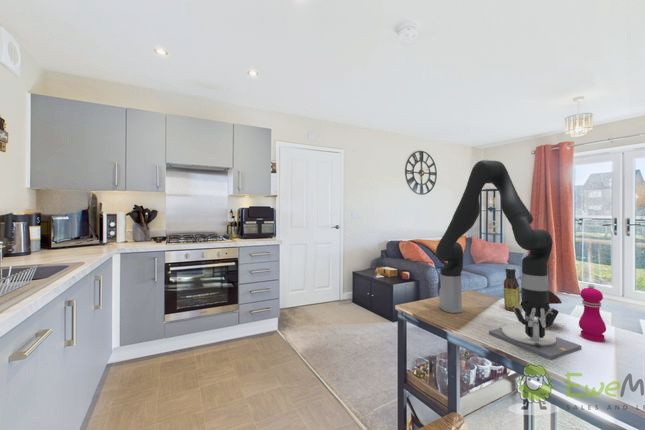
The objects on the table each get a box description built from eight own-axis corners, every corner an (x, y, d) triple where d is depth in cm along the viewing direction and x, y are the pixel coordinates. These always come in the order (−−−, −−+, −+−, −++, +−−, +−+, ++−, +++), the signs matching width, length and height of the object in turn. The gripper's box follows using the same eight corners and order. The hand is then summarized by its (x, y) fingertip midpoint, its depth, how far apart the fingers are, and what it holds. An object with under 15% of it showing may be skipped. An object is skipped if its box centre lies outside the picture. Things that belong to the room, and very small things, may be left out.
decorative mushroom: (550, 321, 118) (549, 286, 118) (569, 331, 107) (568, 293, 107) (522, 320, 120) (521, 285, 120) (538, 330, 109) (537, 292, 109)
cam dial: (496, 325, 112) (496, 307, 112) (544, 329, 107) (543, 310, 107) (511, 344, 95) (510, 324, 95) (568, 351, 90) (567, 329, 90)
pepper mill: (573, 334, 105) (572, 282, 105) (591, 333, 106) (589, 281, 106) (593, 343, 98) (592, 287, 98) (612, 341, 98) (611, 286, 98)
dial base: (489, 334, 107) (488, 330, 107) (517, 326, 113) (517, 323, 113) (550, 360, 87) (550, 355, 87) (581, 349, 94) (581, 345, 94)
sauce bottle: (522, 312, 129) (521, 269, 129) (507, 311, 130) (506, 269, 130) (515, 307, 135) (514, 267, 135) (501, 307, 137) (500, 267, 137)
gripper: (517, 289, 93) (518, 340, 93) (565, 290, 90) (565, 343, 91) (507, 283, 100) (507, 330, 101) (550, 285, 98) (551, 333, 98)
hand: (535, 336), depth 96 cm, fingers closed on cam dial, 2 cm apart
